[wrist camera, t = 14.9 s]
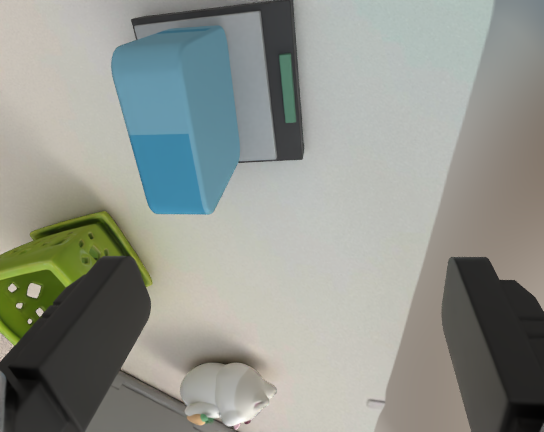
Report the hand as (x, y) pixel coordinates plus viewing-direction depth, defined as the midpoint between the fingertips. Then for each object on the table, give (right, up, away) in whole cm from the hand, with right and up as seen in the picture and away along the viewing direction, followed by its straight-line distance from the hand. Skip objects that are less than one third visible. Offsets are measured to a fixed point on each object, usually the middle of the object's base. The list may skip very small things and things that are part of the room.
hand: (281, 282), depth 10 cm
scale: (-5, +14, +28) cm, 32 cm away
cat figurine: (-7, -23, +52) cm, 57 cm away
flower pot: (-23, -3, +42) cm, 48 cm away
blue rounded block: (-6, +13, +26) cm, 29 cm away
